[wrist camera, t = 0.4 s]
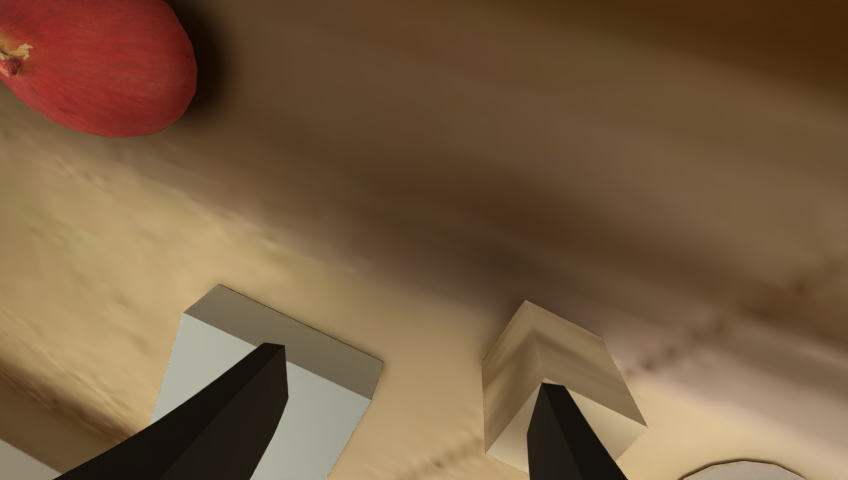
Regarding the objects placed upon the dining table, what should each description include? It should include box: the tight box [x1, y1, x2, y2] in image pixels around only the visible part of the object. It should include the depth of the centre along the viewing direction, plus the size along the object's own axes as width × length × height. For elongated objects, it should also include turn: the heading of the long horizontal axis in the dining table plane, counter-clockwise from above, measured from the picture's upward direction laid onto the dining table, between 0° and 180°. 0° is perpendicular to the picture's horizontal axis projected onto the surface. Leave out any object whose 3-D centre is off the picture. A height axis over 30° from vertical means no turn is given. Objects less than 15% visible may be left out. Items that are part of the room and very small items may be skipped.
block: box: [482, 300, 648, 474], centre depth 19 cm, size 4×4×6 cm
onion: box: [0, 0, 197, 138], centre depth 15 cm, size 6×6×8 cm
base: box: [149, 285, 383, 480], centre depth 23 cm, size 10×10×3 cm
